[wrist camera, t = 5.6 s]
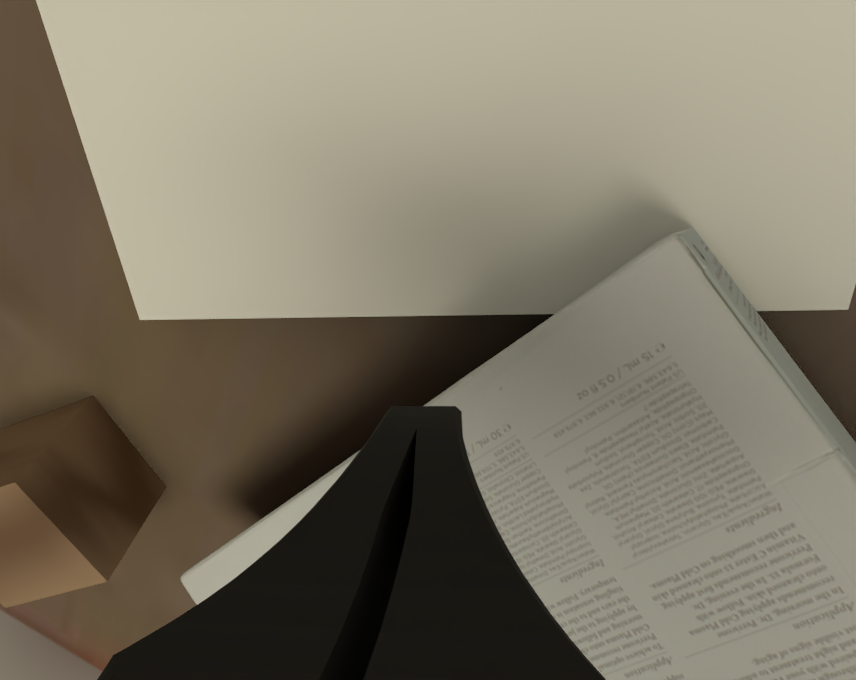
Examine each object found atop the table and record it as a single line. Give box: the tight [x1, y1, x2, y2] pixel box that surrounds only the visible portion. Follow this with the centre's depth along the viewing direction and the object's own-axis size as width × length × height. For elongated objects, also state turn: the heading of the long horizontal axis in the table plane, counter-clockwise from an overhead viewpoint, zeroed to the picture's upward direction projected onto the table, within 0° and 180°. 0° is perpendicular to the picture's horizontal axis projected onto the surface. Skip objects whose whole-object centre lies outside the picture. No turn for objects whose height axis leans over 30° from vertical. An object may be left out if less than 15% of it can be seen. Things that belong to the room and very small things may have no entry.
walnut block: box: [0, 396, 166, 608], centre depth 26 cm, size 5×5×5 cm
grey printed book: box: [181, 227, 856, 680], centre depth 21 cm, size 21×5×16 cm
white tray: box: [36, 0, 856, 320], centre depth 17 cm, size 17×23×2 cm
